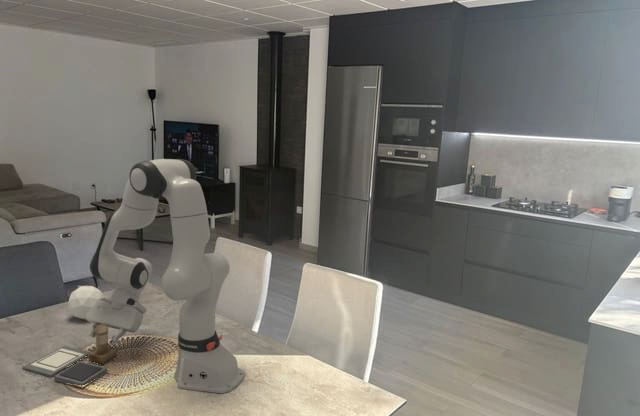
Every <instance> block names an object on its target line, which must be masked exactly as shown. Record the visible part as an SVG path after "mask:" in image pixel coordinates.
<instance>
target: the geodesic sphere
mask: <svg viewBox="0 0 640 416" xmlns="http://www.w3.org/2000/svg"><path fill="white" fill-rule="evenodd" d="M101 298H105V296H104V294H103V293H102V291H101V290H100V289H99V288H97V287H95V286H93V285H89V284H87V285H82V284H81V285H80V284H78V285H77V288H76V289H75V290H73V291H72V292H71V293H70V297H69V300H68V302H67V310H68V311H69V312H70V314H72V315H73V316H74V317H75V318H78V319H81V320H86V315H87V313H88V312H89V310H90V309H91V308H92V306H93V305H94V304H95V303H96V301H97V300H99V299H101Z"/></svg>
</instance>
